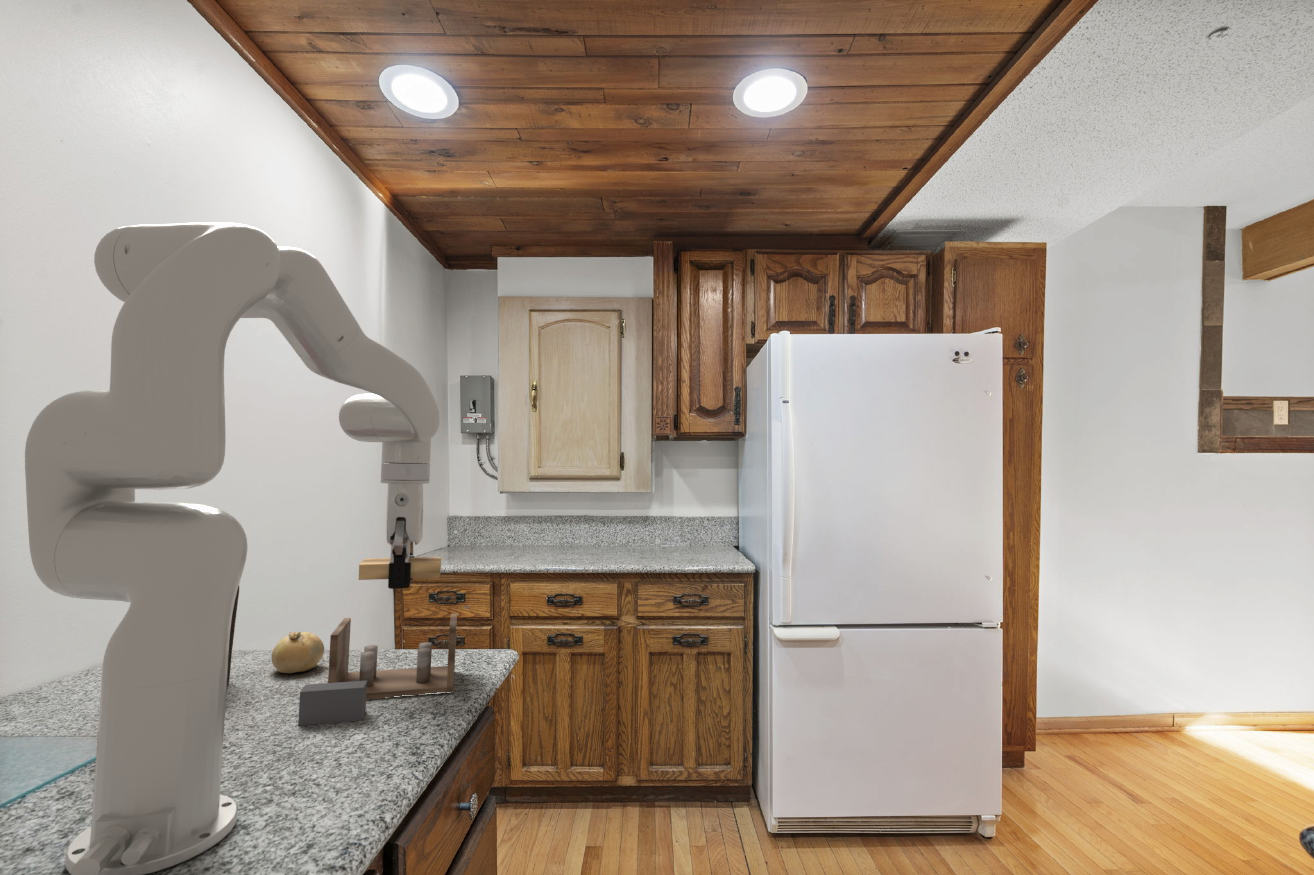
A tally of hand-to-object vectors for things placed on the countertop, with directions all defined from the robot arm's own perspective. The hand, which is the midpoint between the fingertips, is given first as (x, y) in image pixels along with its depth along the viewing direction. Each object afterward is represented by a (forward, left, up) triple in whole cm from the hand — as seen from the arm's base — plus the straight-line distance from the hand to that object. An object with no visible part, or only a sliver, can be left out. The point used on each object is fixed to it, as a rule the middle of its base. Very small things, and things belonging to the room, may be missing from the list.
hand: (401, 582), depth 102 cm
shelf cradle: (0, 0, -17) cm, 17 cm away
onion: (+12, +17, -17) cm, 27 cm away
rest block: (-12, +7, -17) cm, 22 cm away
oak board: (0, 0, +1) cm, 1 cm away
